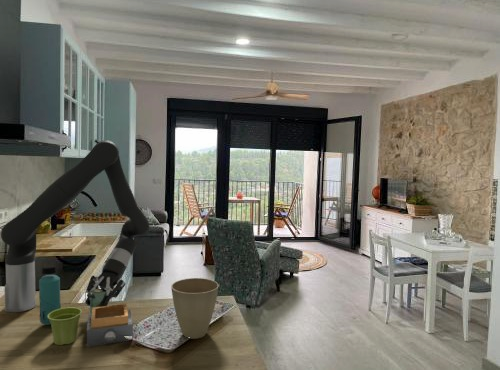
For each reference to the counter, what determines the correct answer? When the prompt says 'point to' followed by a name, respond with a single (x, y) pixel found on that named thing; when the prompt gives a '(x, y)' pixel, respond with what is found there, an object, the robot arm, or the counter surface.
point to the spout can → (96, 297)
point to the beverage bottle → (49, 293)
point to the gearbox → (109, 325)
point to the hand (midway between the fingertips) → (94, 305)
